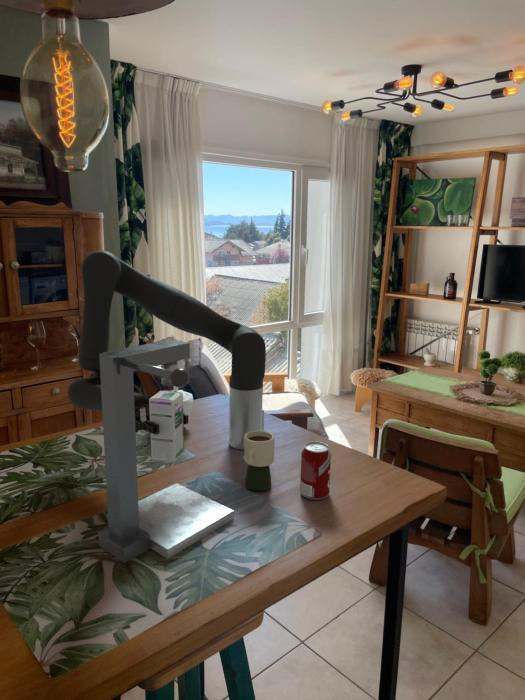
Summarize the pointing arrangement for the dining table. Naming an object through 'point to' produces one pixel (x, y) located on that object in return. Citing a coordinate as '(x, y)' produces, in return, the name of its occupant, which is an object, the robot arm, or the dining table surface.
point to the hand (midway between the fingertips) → (173, 424)
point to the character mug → (258, 459)
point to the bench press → (121, 464)
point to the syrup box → (167, 425)
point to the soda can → (315, 471)
